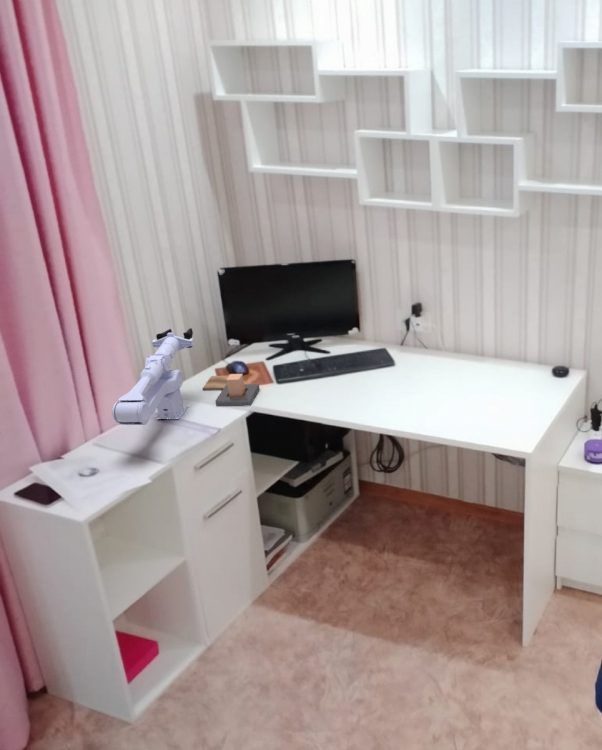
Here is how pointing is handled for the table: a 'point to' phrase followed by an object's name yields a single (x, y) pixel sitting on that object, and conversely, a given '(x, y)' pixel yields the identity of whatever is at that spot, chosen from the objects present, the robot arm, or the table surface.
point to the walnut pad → (216, 383)
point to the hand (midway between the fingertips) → (181, 331)
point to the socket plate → (240, 400)
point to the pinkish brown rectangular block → (236, 385)
